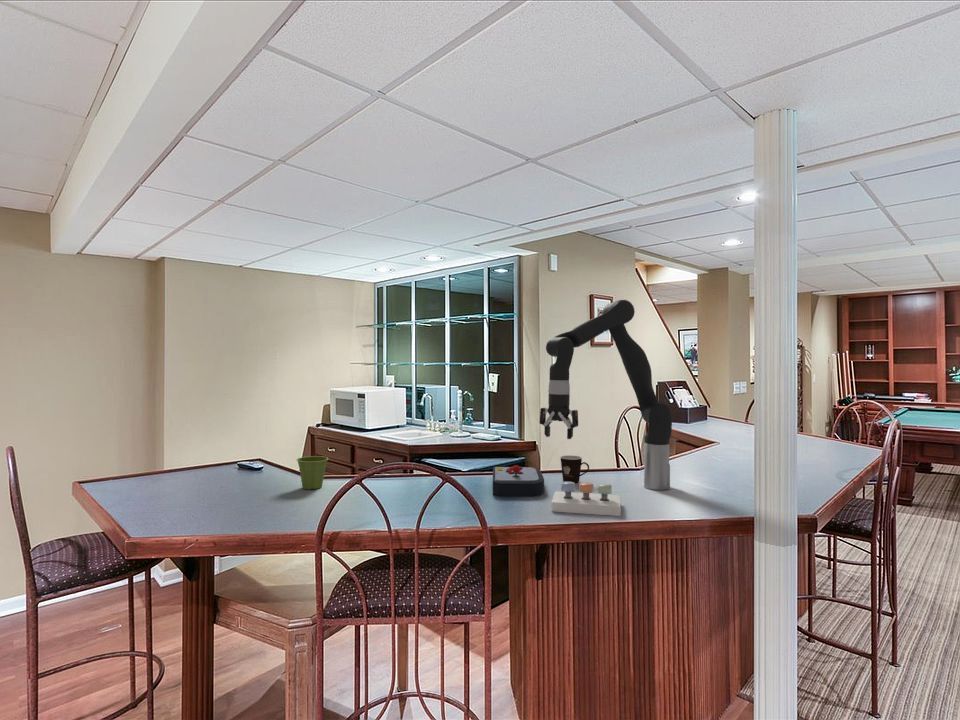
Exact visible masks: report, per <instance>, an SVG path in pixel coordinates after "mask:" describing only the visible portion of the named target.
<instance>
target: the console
mask: <svg viewBox="0 0 960 720" xmlns="http://www.w3.org/2000/svg"><path fill="white" fill-rule="evenodd" d="M621 511H622V510H621V500H620V495H618V494H608V501H601V494H600V493H589V500H583V493H582V492H571V499H565V492H564V491H554V494H553V497H552V500H551V512H555V513H556V512H558V513H571V514H572V513H573V514H588V515H598V516H599V515H603V516H615V517H616V516H617V517H621V514H622V513H621Z"/></svg>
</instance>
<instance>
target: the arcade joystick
mask: <svg viewBox="0 0 960 720" xmlns="http://www.w3.org/2000/svg"><path fill="white" fill-rule="evenodd" d="M544 493H545V478H544V476H543V473H542V471H541V470H540V469H539V468H535V467H531V466H530V467H525V466H524V467H523V466H519V465H518V464H517V465H516V464H515V465H513V466H493V468H492V496H494V497H498V498H499V497H500V498H515V497H517V498H519V497H520V498H525V497H526V498H535V497H541V496H542V495H543V494H544Z"/></svg>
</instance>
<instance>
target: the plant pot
mask: <svg viewBox="0 0 960 720" xmlns="http://www.w3.org/2000/svg"><path fill="white" fill-rule="evenodd" d="M328 461H329V457H328V456H322V455H311V456H309V455H308V456H303V457H302V456H301V457H297V458H296V462H297V463H298V468H299V472H300V473H299V474H300V479H301V488H302V489H304V490H312V489H313V490H318V489H321V488H322V487H323V483H324V478H325V471H326V468H327V467H326V466H327V463H328Z"/></svg>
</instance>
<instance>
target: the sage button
mask: <svg viewBox="0 0 960 720" xmlns="http://www.w3.org/2000/svg"><path fill="white" fill-rule="evenodd" d="M596 486H597V490H596V491H597V494H601V501H608V495H612V484H609V483H598V484H597V485H596Z"/></svg>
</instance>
